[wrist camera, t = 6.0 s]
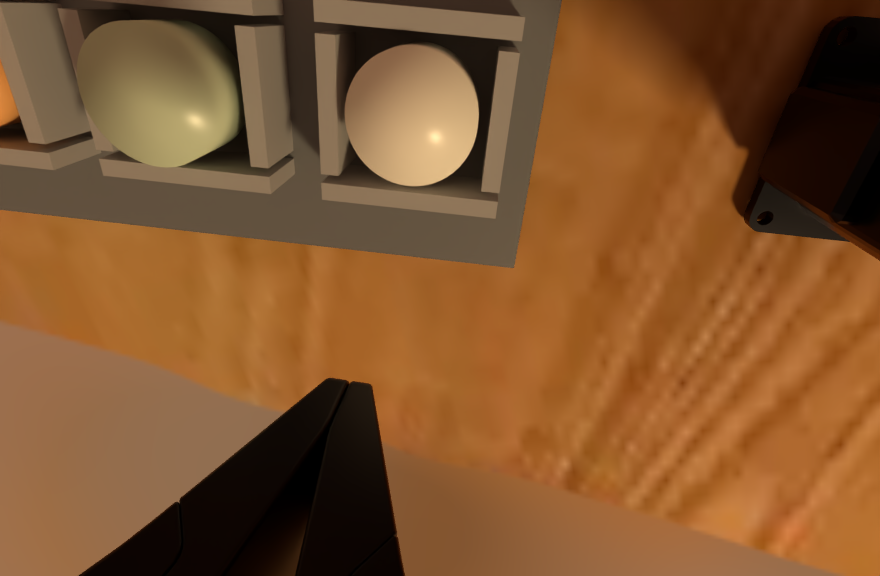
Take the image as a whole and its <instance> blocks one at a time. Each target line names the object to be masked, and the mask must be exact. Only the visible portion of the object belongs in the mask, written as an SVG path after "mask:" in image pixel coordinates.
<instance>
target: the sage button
mask: <svg viewBox="0 0 880 576" xmlns="http://www.w3.org/2000/svg"><path fill="white" fill-rule="evenodd" d="M77 83H78V87H79V92H80V95H81V98H82V101H83V103H84V106H85V108H86V110H87V112H88V114H89V116H90V117H91V119H92V121H93V122H94V124H95V125H96V127H97V128H98V129H99V130H100V132H101V133H102V134H103V135H104V136H105V137H106V138H107V139H108V140H109V141H110V142H111V143H112V144H113V145H114V146H115V147H117V148H118V149H119V150H120V151H122V152H123V153H125V154H126V155H128V156H130V157H131V158H133V159H135V160H137V161H140V162H142V163H145V164H148V165H151V166H156V167H167V168H169V167H178V166H181V165H185V164H187V163H189V162H191V161H193V160H195V159H197V158H199V157H201V156H203V155H205V154H207V153H209V152H211V151H213V150H215V149H217V148H219V147H221V146H223V145H225V144H227V143H228V142H230V141H232V140H233V139H234V138H235V137H236V136H237V135H238V134H239V132H240V131H241V129H242V128H243V126H244V124H245V121H246V120H245V112H244V103H243V95H242V86H241V78H240V69H239V64H238V62H237V60H236V58H235V57H234V55H233V54H232V52H231V51H230V50H229V49H228V48H227V46H226V45H225V44H224V43H223V42H222V41H221V40H220V39H219V38H218V37H216V36H215V35H214V34H213V33H211V32H210V31H208V30H207V29H205V28H203V27H201V26H199V25H197V24H195V23H192V22H189V21H185V20H179V19H160V20H123V21H114V22H109V23H106V24H103V25H102V26H100V27H98V28H96V29H95V30H94V31H93V32H92V33H90V34H89V36H88V37H87V38H86V39H85V41H84V43H83V45H82V47H81V49H80V52H79V55H78V60H77Z"/></svg>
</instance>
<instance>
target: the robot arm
mask: <svg viewBox="0 0 880 576" xmlns="http://www.w3.org/2000/svg"><path fill="white" fill-rule="evenodd" d="M845 27H846V28H847V30H848V35H847V38H846V39H845V40H844V42H842V43H841V44H839V45H838V44H837V41H836V40H837V35H838V34H839V32H840V31H841V30H842V29H844V28H845ZM759 174H760V178H759V180H758V183H757V185H756V187H755V190H754V192H753V194H752V197H751V199H750V202H749V204H748V206H747V209H746V211H745V214H744V220H745V223H746V224H747V225H748V226H750V227H751V228H752V229H753V230H755V231H758V232H766V233H775V234H784V235H793V236H802V237H812V238H821V239H830V240H839V241H848V242H851V243H853V244H855V245H856V246H858V247H859V248H861V249H862V250H864V251H865V252H867V253H869V254H870V255H872V256H873V257H875V258H876V259H878V260H879V261H880V18H870V17H859V16H843V17H838V18H836V19H834V20H832V21H831V22H830V23H828V24H827V25H826V26H825V27H824V29H823V31H822V32H821V34H820V36H819V38H818V41H817V43H816V46H815V48H814V50H813V53H812V55H811V57H810V60H809V62H808V64H807V67H806V69H805V72H804V74H803V76H802V79H801V81H800V83H799V86H798V88H797V89H796V90H795V91H794V92H793V93H791V94H790V96H789V98H788V101H787V103H786V106H785V108H784V110H783V113H782V115H781V118H780V120H779V122H778V125H777V127H776V130H775V132H774V134H773V137H772V139H771V141H770V144H769V146H768V149H767V151H766V153H765V156H764V158H763V161H762V163H761V165H760V168H759ZM765 211H768V213H767V216H766V217H765V218H764V219H762V220H760V221H757V217H758V216H759V215H760V214H761V213H763V212H765ZM179 502H180V504H179V503H178V502H175V503H174V504H173V505H171V506H170V507H169V508H167V509H166V510H165V511H164V512H163V513H161V514H160V515H159V516H158V517H156V518H155V519H154V520H153V521H152V522H150V523H149V524H148V525H146V526H145V527H144V528H142V529H141V530H140V531H138V532H137V533H136V534H135V535H133V536H132V537H131V538H130V539H128V540H127V541H126V542H124V543H123V544H122V545H121V546H119V547H118V548H116V549H115V550H113V551H112V552H111V553H110V554H108V555H107V556H105V557H104V558H102V559H101V560H100V561H98V562H97V563H95V564H94V565H93V566H91V567H90V568H88V569H87V570H86V571H84V572H83V573H82V574H80V575H79V576H405V573H404V568H403V563H402V559H401V553H400V547H399V541H398V537H397V530H396V524H395V519H394V513H393V507H392V501H391V495H390V489H389V483H388V477H387V471H386V465H385V460H384V454H383V448H382V442H381V436H380V430H379V424H378V418H377V412H376V406H375V401H374V395H373V389H372V386H371V385H370V384H368V383H361V382H355V381H352V382H351V383H350V384H349V382H348V381H347V380H342V379H335V378H328V379H326V380H324V381H323V382H322V383H321V384H319V385H318V386H317V387H316V388H315V389H313V390H312V391H311V392H310V393H308V394H307V395H306V396H305V397H303V398H302V399H301V400H300V401H299V402H297V403H296V404H295V405H294V406H292V407H291V408H290V409H289V410H288V411H286V412H285V413H284V414H283V415H281V416H280V417H279V418H278V419H277V420H275V421H274V422H273V423H272V424H270V425H269V426H268V427H267V428H266V429H264V430H263V431H262V432H261V433H260V434H259V435H257V436H256V437H255V438H253V439H252V440H251V441H250V442H248V443H247V444H246V445H245V446H244V447H242V448H241V449H240V450H239V451H238V452H236V453H235V454H234V455H233V456H231V457H230V458H229V459H228V460H226V461H225V462H224V463H223V464H222V465H220V466H219V467H218V468H217V469H215V470H214V471H213V472H212V473H211V474H209V475H208V476H207V477H206V478H205V479H203V480H202V481H201V482H200V483H199V484H197V485H196V486H195V487H194V488H192V489H191V490H190V491H188V492H187V493H186V494H185V495H184V496H182V497H181V498H180V501H179Z"/></svg>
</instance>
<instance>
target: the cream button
mask: <svg viewBox="0 0 880 576" xmlns="http://www.w3.org/2000/svg"><path fill="white" fill-rule="evenodd" d="M479 109H480V102H479V94H478V89H477V86H476V83H475V80H474V78H473V76H472V74H471V72H470V70H469V69H468V67H467V66H466V65H465V64H464V62H463V61H462V60H461V59H460V58H459V57H458V56H457V55H456V54H454V53H453V52H451V51H450V50H448V49H447V48H444V47H442V46H440V45H437V44H434V43H430V42H422V41H415V42H408V43H404V44H401V45H398V46H395V47H393V48H390V49H388V50H385V51H383V52H381V53H379V54H377V55H375V56H374V57H372V58H371V59H370V60H369V61H367V62H366V63H365V64H364V65H363V66H362V67H361V69H360V70H359V71H358V72H357V74H356V75H355V77H354V78H353V80H352V83H351V85H350V87H349V90H348V93H347V97H346V102H345V124H346V129H347V133H348V136H349V139H350V142H351V144H352V146H353V148H354V150H355V151H356V153H357V155H358V156H359V158H360V159H361V160H362V161H363V163H364V164H365V165H366V166H367V167H368V168H369V169H371V170H372V171H373V172H374V173H376V174H377V175H379V176H380V177H382V178H384V179H386V180H388V181H390V182H393V183H396V184H400V185H405V186H424V185H429V184H433V183H436V182H438V181H441V180H443V179H444V178H446V177H448V176H449V175H451V174H452V173H454V172H455V171H456V170H457V169H458V168H459V167H460V166H461V165H462V163H463V162H464V161H465V160H466V158H467V157H468V155H469V153H470V151H471V149H472V147H473V145H474V142H475V138H476V134H477V129H478V120H479Z"/></svg>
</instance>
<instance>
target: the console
mask: <svg viewBox="0 0 880 576" xmlns="http://www.w3.org/2000/svg"><path fill="white" fill-rule="evenodd" d="M561 1H562V0H0V60H1V63H2V66H3V68H4V71H5V74H6V77H7V80H8V83H9V86H10V89H11V92H12V95H13V98H14V101H15V104H16V106H17V109H18V112H19V115H20V118H21V121H22V122H20V123H16V124H11V125H7V126H3V127H0V210H8V211H17V212H26V213H34V214H43V215H52V216H61V217H69V218H78V219H87V220H96V221H105V222H113V223H122V224H131V225H140V226H149V227H157V228H166V229H175V230H184V231H193V232H201V233H210V234H219V235H228V236H237V237H245V238H254V239H263V240H272V241H280V242H289V243H298V244H307V245H316V246H324V247H333V248H342V249H351V250H360V251H368V252H377V253H386V254H395V255H404V256H412V257H421V258H430V259H439V260H447V261H456V262H465V263H474V264H483V265H491V266H500V267H509V268H514V265H515V259H516V253H517V248H518V242H519V237H520V231H521V225H522V220H523V214H524V209H525V203H526V197H527V192H528V186H529V181H530V175H531V169H532V164H533V158H534V153H535V147H536V141H537V136H538V130H539V125H540V119H541V113H542V108H543V102H544V97H545V91H546V85H547V80H548V74H549V69H550V63H551V57H552V52H553V46H554V41H555V35H556V29H557V24H558V18H559V13H560V7H561ZM160 19H179V20H185V21H189V22H192V23H195V24H197V25H199V26H201V27H203V28H205V29H207V30H208V31H210V32H211V33H213V34H214V35H215V36H216V37H218V38H219V39H220V40H221V41H222V42H223V43H224V44H225V45H226V46H227V48H228V49H229V50H230V51H231V52H232V54H233V55H234V57H235V58H236V60H237V62H238V64H239V69H240V78H241V86H242V95H243V103H244V112H245V120H246V121H245V124H244V126H243V128H242V129H241V131H240V132H239V134H238V135H237V136H236V137H235V138H234V139H233V140H232V141H230V142H228V143H227V144H225V145H223V146H221V147H219V148H217V149H215V150H213V151H211V152H209V153H207V154H205V155H203V156H201V157H199V158H197V159H195V160H193V161H191V162H189V163H187V164H185V165H181V166H178V167H169V168H167V167H156V166H151V165H148V164H145V163H142V162H140V161H137V160H135V159H133V158H131V157H130V156H128V155H126V154H125V153H123V152H122V151H120V150H119V149H118V148H117V147H115V146H114V145H113V144H112V143H111V142H110V141H109V140H108V139H107V138H106V137H105V136H104V135H103V134H102V133H101V132H100V130H99V129H98V128H97V127H96V125H95V124H94V122H93V121H92V119H91V117H90V116H89V114H88V112H87V110H86V108H85V106H84V103H83V101H82V98H81V95H80V92H79V87H78V83H77V60H78V55H79V52H80V49H81V47H82V45H83V43H84V41H85V39H86V38H87V37H88V36H89V34H90V33H92V32H93V31H94V30H95V29H96V28H98V27H100V26H102V25H103V24H106V23H109V22H114V21H123V20H160ZM415 41H422V42H430V43H434V44H437V45H440V46H442V47H444V48H447V49H448V50H450V51H451V52H453V53H454V54H456V55H457V56H458V57H459V58H460V59H461V60H462V61H463V62H464V64H465V65H466V66H467V67H468V69H469V70H470V72H471V74H472V76H473V78H474V80H475V83H476V86H477V89H478V94H479V102H480V109H479V120H478V129H477V134H476V138H475V142H474V145H473V147H472V149H471V151H470V153H469V155H468V157H467V158H466V160H465V161H464V162H463V163H462V165H461V166H460V167H459V168H458V169H457V170H456V171H455V172H454V173H452V174H451V175H449V176H448V177H446V178H444V179H443V180H441V181H438V182H436V183H433V184H429V185H424V186H405V185H400V184H396V183H393V182H390V181H388V180H386V179H384V178H382V177H380V176H379V175H377V174H376V173H374V172H373V171H372V170H371V169H369V168H368V167H367V166H366V165H365V164H364V163H363V161H362V160H361V159H360V158H359V156H358V155H357V153H356V151H355V150H354V148H353V146H352V144H351V142H350V139H349V136H348V133H347V129H346V124H345V102H346V97H347V93H348V90H349V87H350V85H351V83H352V80H353V78H354V77H355V75H356V74H357V72H358V71H359V70H360V69H361V67H362V66H363V65H364V64H365V63H366V62H367V61H369V60H370V59H371V58H372V57H374V56H375V55H377V54H379V53H381V52H383V51H385V50H388V49H390V48H393V47H395V46H398V45H401V44H404V43H408V42H415Z"/></svg>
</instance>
